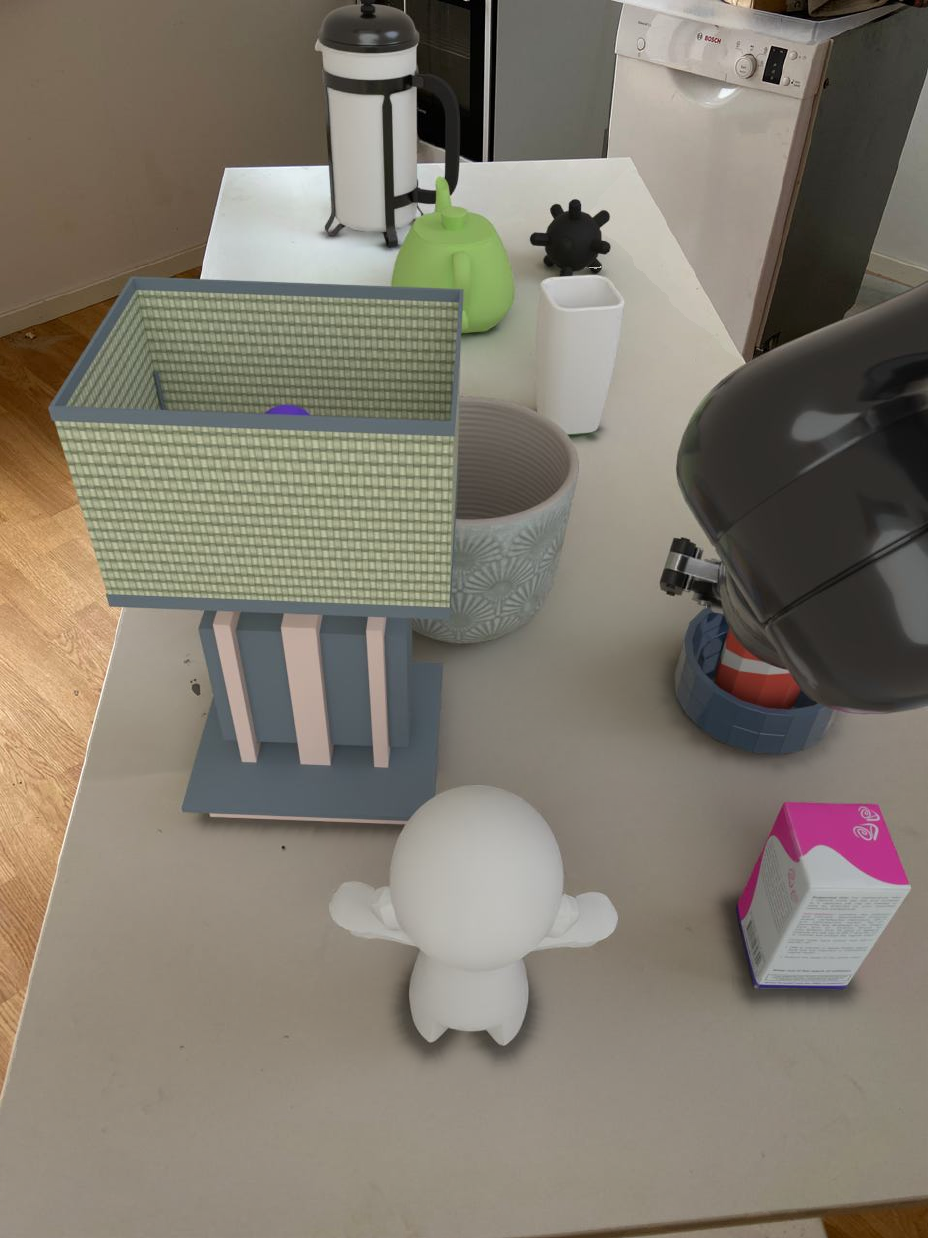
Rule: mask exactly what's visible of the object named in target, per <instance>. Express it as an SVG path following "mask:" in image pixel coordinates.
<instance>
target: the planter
mask: <svg viewBox="0 0 928 1238" xmlns="http://www.w3.org/2000/svg"><path fill="white" fill-rule="evenodd" d="M458 462H459V469H458V489H457V507H456V526H455V544H454V562H453V581H452V599H451V617H450V620H440V619H414V618H412V631H415V632H416V633H418V634H420V635H422V636H425V637H427V638H429V639H433V640H436V641H440V642H443V643H449V644H463V645H465V644H476V643H482V642H483V643H484V642H487V641H491V640H495V639H498V638H500V637H503V636H505V635H507V634H510V633H511V632H513V631H515V630H517V629H519V628H520V627H521V626H523V625H524V624H526V622H528V621H530V619H531V618H532V617H533V616H534V615H535V614H536V613H537V612H538V610H539V609H540V607H541V606H542V605H543V603H544V602H545V600H546V599H547V597H548V595H549V593H550V592H551V589H552V587H553V584H554V581H555V579H556V576H557V574H558V573H557V572H558V569H559V564H560V559H561V555H562V551H563V546H564V542H565V537H566V533H567V527H568V524H569V519H570V514H571V510H572V505H573V500H574V496H575V491H576V486H577V482H578V478H579V473H580V458H579V454H578V450H577V448H576V446H575V444H574V442H573V440H572V439H571V437H570V435H569V436H568V435H567V434H566V433H565V432H564V431H563V429H562V428H560V427H559V426H558V425H557V424H556V423H554V422H553V421H551V420H550V419H549V418H547V417H545V416H543V415H542V414H540V413H538V412H537V410H533V409H532V408H529V407H526V406H523V405H521V404H518V403H514V402H511V401H507V400H503V399H497V398H493V397H486V396H474V395H459V428H458Z"/></svg>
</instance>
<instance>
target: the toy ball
mask: <svg viewBox="0 0 928 1238" xmlns="http://www.w3.org/2000/svg"><path fill="white" fill-rule="evenodd" d="M549 211H550V215H551V216H552V218H553V220H552V221H551V222H550V223H549V224H548V226H547V228H546V232H539V231H538V232H537V231H535V232H533V233H532V234H530V236H529V242H530V244H531V245H532V246H533V247H535V246H536V247H544V251H545V253H546V255H545V256H544V257H543V264H544V265H545V266H546V267H548V268H549V267H553V266H555V267H556V268H557V269H560V270H559V271H560V272H559V276H558V277H564V276H573V273H574V272H579V271H583V270H584V269H586V268H587V269H588V270H589V271H590V272H591V273H593V274H594V275H598V274H599V273H600V272H601V271H602V268H603V264H602V263H601V261H599V259H598V256H599V254H600V255H604V256H605V255H607V254H609V253H610V251H611V243H609V242H608V241H607V240H602V237H603V235H602V230H601V228H602V227H603V226H604V225H606V224H607V223H608V222H609V221H610V220H611V219H610V218H611V214H610V213H609V211H608V210H606V209H601V210H600V211H599V212H597V213H596V214H595V215H594V216H591V215H590V214H589V213H587V212H585V211H582V202H581V200H579V199H577V198H574V199H571V200H570V201H569V202H568V210H565V211H564V209H563V207H562V205H561V204H560V203H554V204H552V205H551V207H550V208H549ZM600 266H602V267H601V268H597V269H594V268H589V267H600Z"/></svg>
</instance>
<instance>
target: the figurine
mask: <svg viewBox="0 0 928 1238" xmlns="http://www.w3.org/2000/svg"><path fill="white" fill-rule="evenodd" d="M563 864H564V863H563V859H562V855H561V851H560V847H559V845H558V842H557V839H556V837H555V835H554V832H553V831H552V829H551V827H550V825H549V824H548V823H547V822H546V820H545V818H544V817H543V816H542V815H541V813H540V812H538V811H537V809H536V808H535V807H534V806H533V805H532V804H530V803H529V802H528V801H526V800H525V799H523V798H522V797H521V796H519V795H517V794H515V793H513V792H511V791H509V790H507V789H503V788H501V787H496V786H493V785H486V784H467V785H461V786H456V787H453V788H449V789H448V790H444V791H443V792H440V793H438V794H436V795H435V797H433V798H432V799H430V800H429V801H427V802H426V803H425V804H424V805H422V806H421V807H420V808H419V809H418V810H417V811H416V812H415V813H414V814H413V816H412V817H411V818H410V819H409V820H408V822H407V823H406V824H404V826H403V828H402V829H401V832H400V834H399V836H398V837H397V840H396V843H395V844H394V848H393V851H392V855H391V860H390V866H389V886H388V885H385V886H382V887H379V888H376V889H374V887H372V886H371V885H369V884H367V883H364V882H360V881H357V880H356V881H355V880H349V881H346V882H342V883H341V884H340V886H338V887H337V889H336V890H335V891H334V893H333V894H332V896H331V897H330V900H329V903H328V910H329V913H330V916H331V919H332V920H333V921H334V922H335V924H337V926H339V927H341V928H342V929H345V930H346V931H347V932H349V933H350V934H351V935H352V936H353V937H358V938H364V939H367V940H369V939H370V940H371V939H382V940H385V941H391V942H395V943H400V944H403V945H406V946H412V947H413V946H414V947H416V948H418V949H419V952H418V954H417V957H416V959H415V963H414V965H413V970H412V972H411V975H410V980H409V989H408V998H409V1007H410V1013H411V1018H412V1021H413V1024H414V1026H415V1028H416V1030H417V1031H418V1033H420V1035H421V1036H422V1038H424V1040H426V1041H427V1042H428V1043H434V1042H436V1041H437V1040H438V1039H440V1037H441V1036H442V1035H444V1034H445V1032H446V1031H448V1029H452V1030H455V1031H461V1032H480V1031H486V1032H487V1033H488V1034H489V1035H490V1036H491V1038H492V1039H493V1040H494V1041H495V1042H496V1043H497V1044H498V1045H499V1046H503V1047H505V1046H506V1045H508V1044H509V1043H510V1042H511V1041H513V1039H515V1037H516V1036H517V1035H518V1033H519V1032H520V1030H521V1028H522V1025H523V1023H524V1020H525V1017H526V1014H527V1013H526V1012H527V1008H528V1005H529V980H528V975H527V969H526V966H525V962H524V958H525V956H527V955H529V953H531V952H536V951H543V950H547V949H556V948H557V949H558V948H567V947H568V948H573V949H580V948H591V947H593V946H594V945H595V944H597V943H598V942H600V941H603V940H605V939H607V938H608V937H610V936H611V935H612V933H614V932H615V930H616V927H617V925H618V922H619V917H618V912H617V910H616V907H615V906H614V904H613V902H612V901H611V900H610V898H609V897H608V896H607V895H606V894H605V893H601V892H598V891H589V892H584V893H581V894H578V895H576V896H575V897H574V896H572V895H569V894H567V893H564V894H563V890H564V878H565V877H564V865H563Z"/></svg>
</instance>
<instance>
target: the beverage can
mask: <svg viewBox="0 0 928 1238" xmlns="http://www.w3.org/2000/svg"><path fill="white" fill-rule="evenodd" d="M715 684H716V685H717V686H718V687H719V688H720V689H722V690H724V691H726V692H728V693H729V694H731V695H733V696H735V697H736V698H738V699H740V700H742V701H745V702H749V703H752V704H755V705H758V706H762V707H765V708H777V709H790V708H792V707H793V706H794V705H795V703H796V700H797V698H798V695H799V693H800V690H801V689H800V688H799V686H798V685H797V684H796V682H795V681H794V679H793V678H792V676H791V674H790V673H789V671H788V670H785V669H781V668H778V667H775V666H772V665H769V664H767V663H765V662H763V661H761V660H759V659H758V658H756V657H755V656H753V655H752V654H751V653H749V652H748V651H747V650H746V649H745V648H744V647H743V646H742V645H741V644H740V643H739V642H738V640H737V639H736V638H735V636H734V635H733V633H732V632H731V630H730V628H729V630H728V634H727V637H726V640H725V644H724V647H723V650H722V654H721V657H720V660H719V664H718V667H717V671H716V678H715Z"/></svg>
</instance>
